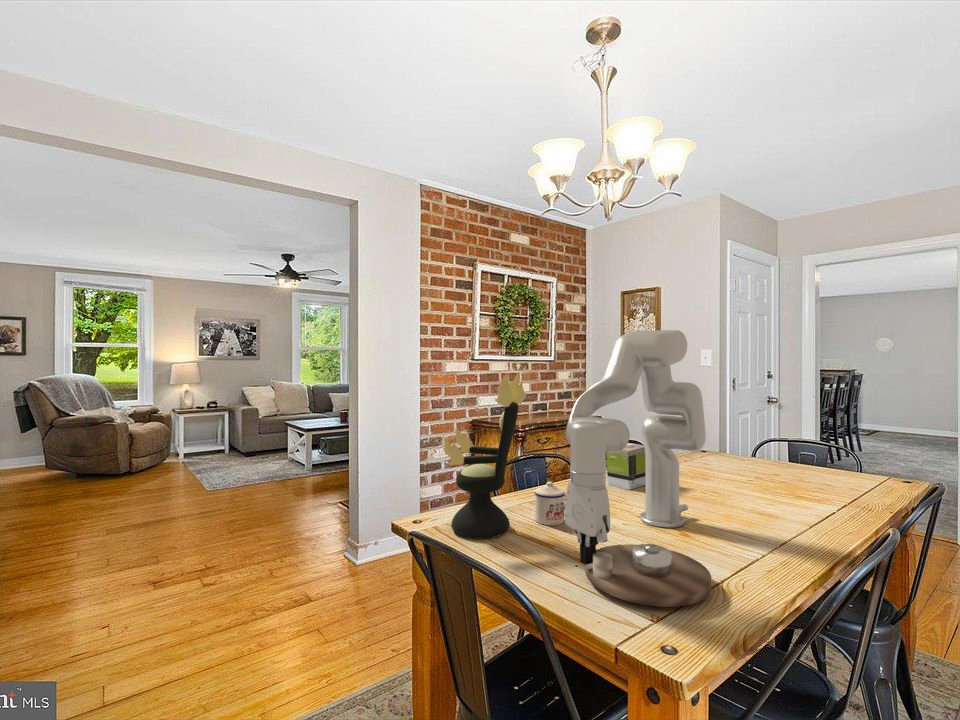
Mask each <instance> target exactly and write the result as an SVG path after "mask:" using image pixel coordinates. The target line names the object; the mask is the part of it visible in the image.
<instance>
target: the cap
mask: <svg viewBox="0 0 960 720" xmlns="http://www.w3.org/2000/svg"><path fill="white" fill-rule="evenodd" d="M635 545H636V546H634V547H633V569H634V571H636V572H637V573H639V574H641V575H644V576H648V577H654V578H662V577H667V576H669V575H671V573H672V553H671V551H670V550H671V549H668V548H667V547H664V546H661V545H657V544H654V543H642V544H635Z"/></svg>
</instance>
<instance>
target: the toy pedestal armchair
mask: <svg viewBox="0 0 960 720" xmlns="http://www.w3.org/2000/svg"><path fill="white" fill-rule="evenodd" d="M496 390H497V393H498V397H497V398H494V401H495V402H496V403H497V404H499V405H501V406H503V407H505V408H504V411H502V413H501V415H500V417H499V420H498V421H499V422H498V423H499V428H500V431H501V433H500V439H499V445H498V447H491V446H490V447H489V446H488V447H487V446H478V445H477V446H476V445H475V446H474V444H473V442H472V441H471V439H470V438H469V436H468V435H466V433H464V432H462V431H460V429H458V428H457V427H455V442H454V441H452V443H451V442H450V440H449V438H447V437H445V436H444V437H443V441H444V454H445V455H447V456H448V457H450V462H449V464H448V465H449V466H453V465H454V466H456V465H463V464H464V465H468V466H466V467H464V468H463V470H461V472H459V473H458V474H457V476H456V478H455V483H456V486H457V487H458V489H460V490H461V491H464V492H467V493H469V495H470V496H469V499H468V501H467V503H465V504H463V506H462V507H461V508H460V509H459V510H458V511H457V512H456V513H455V514H454V515H453V518H452V519H451V524H450V526H451V529H452V530H453V531H454V533H456V534H458V535H459V536H462V537H464V538H471V539H491V538H496V537H499V536H502V535H504V534H505V533H506V532H508V530H509V529H510V519H509V517H508V515H507V514H506V512H504V511H503V510H502V509H501V507H499V506H498V505H497V504H496V503H495V502H493V500H492V497H491V493H494V492H497V491H499V490H500V489H502V488H503V486H504V485H505V481H506V480H505V476H506V469H507V463H508V458H509V455H510V454H509V453H510V449H511V445H512V440H513V436H514V432H515V430H516V429H515V428H516V424H517V420H518V415H519V414H518V413H519V405H521V404H522V403H523V402H524V400H525V398H526V397H527V394H526V392H525V390H524V385H523V381H521V382H520V374H519V373H518V372H517V374H516V375H515V376H514V378H513V380H512V382H511V383H510V377H509V375H508V374H507V375H503V377H502V380H501V381H500V383H499V384H498V386H497V388H496ZM455 443H456V444H455ZM457 445H458V446H457ZM459 446H460V449H459ZM462 453H463V454H462ZM464 454H476V455H469V456H466V455H465V456H464ZM489 464H495V466H492V465H489Z"/></svg>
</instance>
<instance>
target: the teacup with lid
mask: <svg viewBox="0 0 960 720" xmlns="http://www.w3.org/2000/svg"><path fill="white" fill-rule="evenodd" d="M534 494H535V499H534V502H535V505H534V507H535V511H534V512H535V518H534V519H535V521H536V523H538V524H540V525H543V524H544V526H559V525H561V524H563V523H565V499H566V493H565V491H564V489H563V488H560V487H558V486H556V485H554V483H553V481H547V482H546V484H544V485H543V486H541V487H537V488H536V489H535V490H534Z"/></svg>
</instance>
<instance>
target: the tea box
mask: <svg viewBox="0 0 960 720" xmlns="http://www.w3.org/2000/svg"><path fill="white" fill-rule="evenodd" d="M606 465H607V466H606V467H607V468H606V471H607V473H606V474H607V478H606V479H607V485H608V486H610V487H614V488H618V489H624V490H628V491H631V490H633V489H636V488H640V487H642V486H645V446H644V444H638V443H630V442H628V444H627V445H626V447H625V448H624V449H622V450H621V451H618V452H607V453H606Z"/></svg>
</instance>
